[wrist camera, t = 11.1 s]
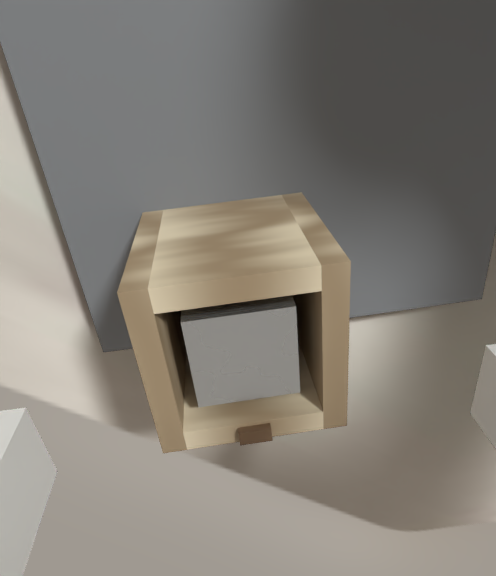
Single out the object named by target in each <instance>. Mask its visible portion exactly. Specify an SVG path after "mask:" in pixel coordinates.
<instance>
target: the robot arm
mask: <svg viewBox="0 0 496 576" xmlns="http://www.w3.org/2000/svg"><path fill="white" fill-rule="evenodd" d="M470 414H471V416H472V417H473V418H474V420H475V421H476V423H477V424H478V425H479V427H480V428H481V430H482V431H483V432H484V434H485V435H486V437H487V438H488V439H489V441H490V442H491V444H492V445H493V446H494V448H495V449H496V344H491V345H486V346H485V350H484V355H483V359H482V363H481V368H480V372H479V376H478V381H477V385H476V389H475V394H474V398H473V403H472V407H471V411H470ZM57 472H58V471H57V469H56V467H55V465H54V463H53V461H52V459H51V457H50V455H49V453H48V451H47V449H46V447H45V445H44V443H43V441H42V439H41V437H40V434H39V432H38V431H37V429H36V426H35V424H34V422H33V421H32V418H31V416H30V414H29V412H28V410H27V408H19V409H12V410H4V411H0V576H23V573H24V570H25V567H26V564H27V561H28V558H29V555H30V552H31V549H32V546H33V543H34V540H35V537H36V534H37V531H38V528H39V525H40V522H41V519H42V516H43V513H44V510H45V507H46V504H47V501H48V498H49V495H50V492H51V490H52V487H53V483H54V481H55V478H56V474H57Z"/></svg>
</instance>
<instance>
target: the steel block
mask: <svg viewBox="0 0 496 576" xmlns="http://www.w3.org/2000/svg"><path fill="white" fill-rule="evenodd" d="M181 327H182V331H183V336H184V341H185V346H186V350H187V355H188V360H189V365H190V369H191V374H192V379H193V384H194V388H195V393H196V398H197V402H198V407H205V406H212V405H219V404H226V403H232V402H239V401H246V400H253V399H260V398H266V397H273V396H280V395H287V394H293V393H300V375H299V355H298V334H297V314H296V305H295V302H294V299H293V297H292V295H290V296H282V297H275V298H268V299H261V300H253V301H246V302H239V303H231V304H224V305H217V306H210V307H202V308H195V309H188V310H181Z"/></svg>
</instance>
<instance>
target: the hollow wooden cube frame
mask: <svg viewBox="0 0 496 576" xmlns="http://www.w3.org/2000/svg"><path fill="white" fill-rule="evenodd" d="M350 274H351V261H350V259H349V258H348V257H347V255H346V254H345V252H344V251H343V250H342V248H341V247H340V245H339V244H338V243H337V241H336V240H335V238H334V237H333V236H332V234H331V233H330V231H329V230H328V229H327V227H326V226H325V224H324V223H323V222H322V220H321V219H320V217H319V216H318V215H317V213H316V212H315V210H314V209H313V208H312V206H311V205H310V203H309V202H308V201H307V199H306V198H305V196H304V195H303V194H302V192H300V193H292V194H284V195H276V196H268V197H261V198H253V199H245V200H237V201H229V202H221V203H213V204H206V205H198V206H190V207H182V208H174V209H166V210H158V211H151V212H143V213H142V216H141V219H140V222H139V226H138V229H137V232H136V235H135V238H134V241H133V244H132V247H131V251H130V254H129V257H128V260H127V263H126V266H125V269H124V273H123V276H122V279H121V282H120V285H119V288H118V291H117V294H118V298H119V301H120V305H121V308H122V312H123V315H124V319H125V322H126V326H127V329H128V333H129V336H130V340H131V343H132V347H133V350H134V354H135V357H136V360H137V364H138V367H139V371H140V374H141V378H142V381H143V385H144V388H145V392H146V395H147V399H148V402H149V406H150V409H151V413H152V416H153V420H154V423H155V427H156V430H157V433H158V437H159V440H160V444H161V447H162V451H163V453H168V452H175V451H182V450H188V449H195V448H201V447H208V446H215V445H221V444H228V443H234V442H240V445H246V444H252V443H259V442H266V441H272V437H274V436H281V435H287V434H294V433H300V432H307V431H314V430H320V429H327V428H334V427H340V426H347V395H348V355H349V314H350ZM290 295H292V297H293V299H294V302H295V305H296V314H297V334H298V355H299V375H300V393H293V394H287V395H280V396H273V397H266V398H260V399H253V400H246V401H239V402H232V403H226V404H219V405H212V406H205V407H198V402H197V398H196V393H195V388H194V384H193V379H192V374H191V369H190V365H189V360H188V355H187V350H186V346H185V341H184V336H183V331H182V327H181V310H188V309H195V308H202V307H210V306H217V305H224V304H231V303H239V302H246V301H253V300H261V299H268V298H275V297H282V296H290Z"/></svg>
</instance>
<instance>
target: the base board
mask: <svg viewBox="0 0 496 576" xmlns="http://www.w3.org/2000/svg"><path fill="white" fill-rule="evenodd" d="M0 43H1V46H2V49H3V52H4V55H5V58H6V61H7V64H8V67H9V70H10V73H11V76H12V79H13V82H14V85H15V88H16V91H17V94H18V97H19V100H20V103H21V106H22V109H23V112H24V115H25V118H26V121H27V124H28V127H29V130H30V133H31V136H32V139H33V142H34V145H35V148H36V151H37V154H38V157H39V160H40V163H41V166H42V169H43V172H44V175H45V178H46V181H47V184H48V187H49V190H50V193H51V196H52V199H53V202H54V205H55V208H56V211H57V214H58V217H59V220H60V223H61V226H62V229H63V232H64V235H65V238H66V241H67V244H68V247H69V250H70V253H71V256H72V259H73V262H74V265H75V268H76V271H77V274H78V277H79V280H80V283H81V286H82V289H83V292H84V295H85V298H86V301H87V304H88V307H89V310H90V313H91V316H92V319H93V322H94V325H95V328H96V331H97V334H98V337H99V340H100V343H101V346H102V349H103V352H110V351H117V350H124V349H131V348H133V347H132V343H131V340H130V336H129V333H128V329H127V326H126V322H125V319H124V315H123V312H122V308H121V305H120V301H119V298H118V294H117V291H118V288H119V285H120V282H121V279H122V276H123V273H124V269H125V266H126V263H127V260H128V257H129V254H130V251H131V247H132V244H133V241H134V238H135V235H136V232H137V229H138V226H139V222H140V219H141V216H142V213H143V212H151V211H158V210H166V209H174V208H182V207H190V206H198V205H206V204H213V203H221V202H229V201H237V200H245V199H253V198H261V197H268V196H276V195H284V194H292V193H300V192H302V194H303V195H304V196H305V198H306V199H307V201H308V202H309V203H310V205H311V206H312V208H313V209H314V210H315V212H316V213H317V215H318V216H319V217H320V219H321V220H322V222H323V223H324V224H325V226H326V227H327V229H328V230H329V231H330V233H331V234H332V236H333V237H334V238H335V240H336V241H337V243H338V244H339V245H340V247H341V248H342V250H343V251H344V252H345V254H346V255H347V257H348V258H349V259H350V261H351V274H350V314H349V318H351V317H358V316H365V315H372V314H380V313H387V312H394V311H401V310H408V309H415V308H422V307H429V306H436V305H443V304H451V303H458V302H465V301H472V300H479V299H482V295H483V290H484V286H485V281H486V276H487V271H488V266H489V261H490V256H491V251H492V246H493V241H494V236H495V231H496V0H0Z"/></svg>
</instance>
